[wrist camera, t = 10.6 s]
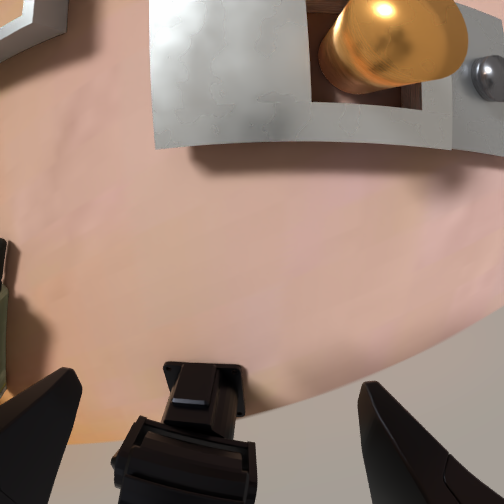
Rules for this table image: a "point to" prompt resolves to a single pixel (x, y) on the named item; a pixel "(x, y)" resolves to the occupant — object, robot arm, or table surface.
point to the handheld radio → (3, 320)
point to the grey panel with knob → (305, 82)
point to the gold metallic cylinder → (393, 44)
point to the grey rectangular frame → (33, 26)
